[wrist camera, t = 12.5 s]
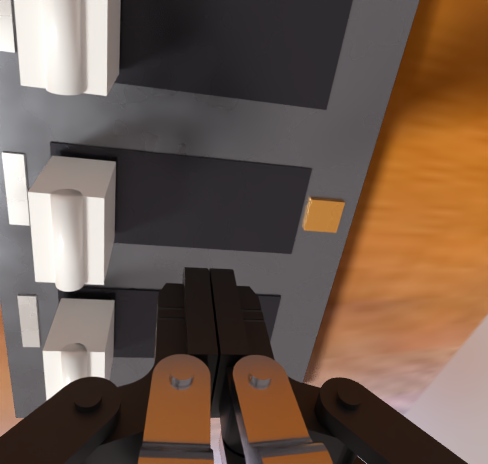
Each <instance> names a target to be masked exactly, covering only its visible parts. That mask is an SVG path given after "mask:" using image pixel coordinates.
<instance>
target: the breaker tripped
mask: <svg viewBox="0 0 488 464" xmlns="http://www.w3.org/2000/svg"><path fill="white" fill-rule="evenodd" d="M115 186H116V162H114V161H104V160H94V159H83V158H73V157H62V156H52V157H51V158H50V160H49V161H48V163H47V164H46V166H45V167H44V169H43V170H42V172H41V173H40V175H39V176H38V178H37V179H36V181H35V182H34V184H33V185H32V186H31V188H30V189H29V191H28V200H29V212H30V224H31V236H32V248H33V260H34V272H35V282H49V283H55V285H56V288H57V289H59V290H61V291H65V292H72V291H76V290H79V289H80V288H82V287H83V286H84V284H93V285H104V282H105V278H106V274H107V269H108V265H109V261H110V256H111V252H112V248H113V243H114V239H115Z"/></svg>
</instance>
